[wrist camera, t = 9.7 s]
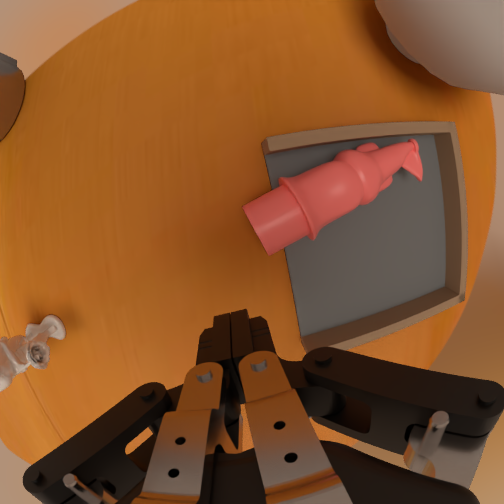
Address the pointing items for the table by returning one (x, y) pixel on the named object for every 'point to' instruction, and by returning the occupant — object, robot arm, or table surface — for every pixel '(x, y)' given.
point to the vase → (451, 39)
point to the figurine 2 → (328, 192)
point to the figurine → (28, 349)
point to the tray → (378, 237)
